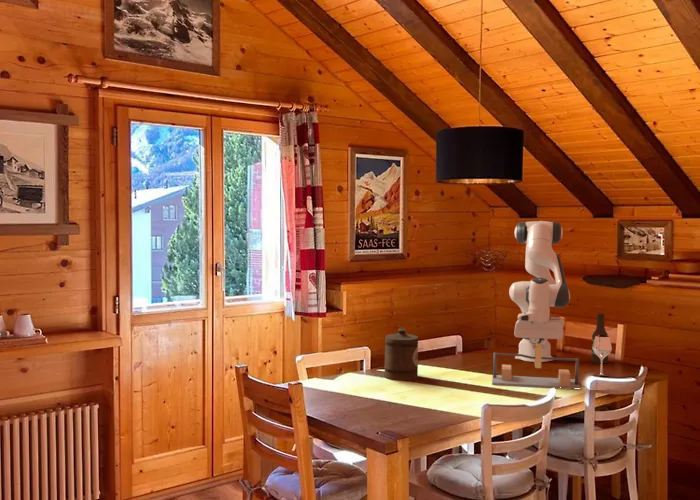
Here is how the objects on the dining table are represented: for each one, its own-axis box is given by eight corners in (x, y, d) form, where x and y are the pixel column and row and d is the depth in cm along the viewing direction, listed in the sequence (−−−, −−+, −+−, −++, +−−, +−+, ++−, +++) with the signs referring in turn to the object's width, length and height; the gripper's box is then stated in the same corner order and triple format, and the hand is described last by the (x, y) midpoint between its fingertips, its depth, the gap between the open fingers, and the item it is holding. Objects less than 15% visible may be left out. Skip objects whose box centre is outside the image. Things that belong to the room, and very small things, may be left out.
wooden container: (422, 379, 312) (423, 329, 311) (391, 381, 308) (391, 331, 307) (410, 371, 326) (411, 324, 325) (380, 373, 322) (380, 325, 321)
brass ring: (534, 363, 308) (535, 343, 307) (540, 364, 307) (540, 343, 307) (535, 368, 300) (535, 346, 299) (541, 368, 299) (541, 347, 299)
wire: (495, 354, 312) (495, 352, 312) (576, 358, 305) (576, 356, 304) (495, 357, 307) (495, 355, 307) (577, 360, 300) (577, 359, 300)
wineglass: (590, 376, 319) (591, 336, 318) (593, 372, 326) (594, 333, 325) (609, 378, 315) (610, 338, 314) (612, 374, 322) (613, 335, 321)
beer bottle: (587, 361, 350) (589, 312, 349) (599, 359, 353) (601, 312, 352) (599, 364, 343) (600, 315, 342) (611, 363, 346) (612, 314, 345)
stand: (492, 377, 317) (493, 350, 316) (576, 381, 309) (577, 354, 309) (492, 384, 303) (492, 357, 302) (580, 389, 296) (580, 361, 295)
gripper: (563, 316, 303) (563, 348, 304) (514, 314, 308) (514, 345, 308) (564, 318, 297) (564, 351, 298) (514, 316, 301) (514, 348, 302)
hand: (538, 348), depth 303 cm, fingers closed on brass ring, 2 cm apart
